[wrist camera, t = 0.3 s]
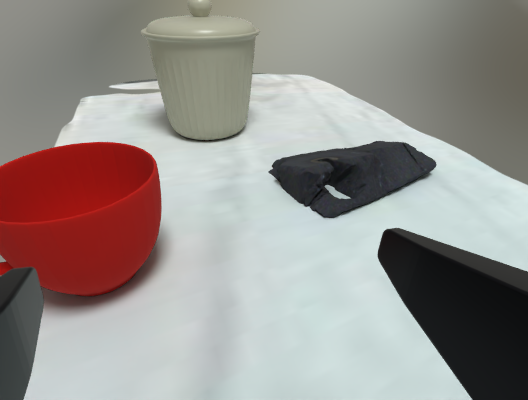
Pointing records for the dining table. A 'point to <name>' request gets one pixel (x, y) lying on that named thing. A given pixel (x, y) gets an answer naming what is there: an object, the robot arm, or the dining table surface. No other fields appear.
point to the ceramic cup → (80, 215)
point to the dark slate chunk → (350, 174)
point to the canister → (203, 70)
